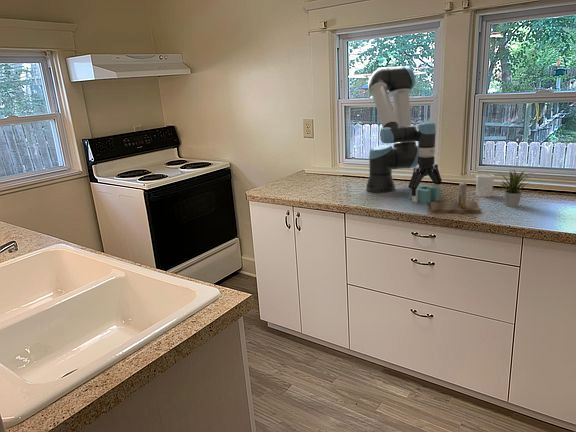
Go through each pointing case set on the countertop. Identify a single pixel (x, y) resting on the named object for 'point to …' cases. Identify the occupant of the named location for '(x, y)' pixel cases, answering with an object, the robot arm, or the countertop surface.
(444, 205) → the baseplate
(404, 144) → the robot arm
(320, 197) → the countertop surface
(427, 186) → the teal notched block
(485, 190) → the white cup
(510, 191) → the house plant
